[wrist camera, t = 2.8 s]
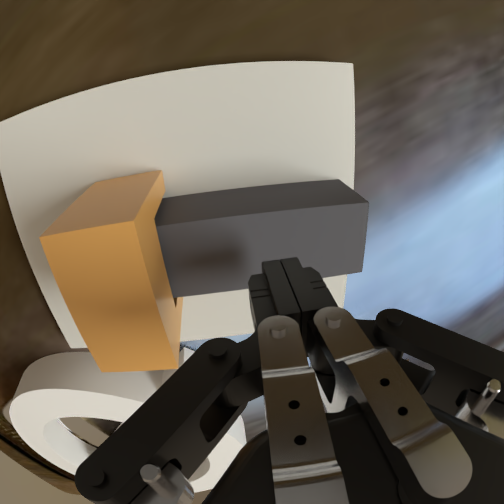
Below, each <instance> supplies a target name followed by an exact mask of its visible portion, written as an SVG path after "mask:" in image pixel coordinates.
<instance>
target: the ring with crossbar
mask: <svg viewBox="0 0 504 504" xmlns="http://www.w3.org/2000/svg"><path fill="white" fill-rule="evenodd" d="M194 352H195V351H193V350H190V349H188V348H186V347H184V348H183V349H182V350H181V351H180V353H179V367H180V366H181V365H182V364H183V363H184V362H185V361H186V360H187V359H188V358H189V357H190V356H191V355H192V354H193V353H194ZM179 367H178V368H179ZM176 370H177V369H167V370H152V371H131V372H101V370H100V369H99V367H98V365H97V363H96V362H95V360H94V358H93V356H92V355H91V353H90V352H65V353H58V354H53V355H49V356H45V357H43V358H40V359H38V360H36V361H35V362H33V363H32V364H30V365H29V366H28V367H27V369H26V370H25V371H24V373H23V375H22V378H21V380H20V382H19V385H18V387H17V390H16V392H15V395H14V397H13V400H12V403H11V405H10V410H9V414H10V419H11V422H12V424H13V426H14V428H15V429H16V431H17V433H18V434H19V435H20V436H21V438H22V439H23V440H24V441H25V442H26V443H27V444H28V445H29V446H30V447H31V448H32V449H33V450H35V451H36V452H37V453H38V454H40V455H41V456H42V457H44V458H45V459H47V460H48V461H50V462H51V463H53V464H55V465H56V466H58V467H60V468H62V469H64V470H66V471H68V472H70V473H72V474H74V475H75V473H76V470H77V468H78V467H79V465H80V464H81V463H82V462H83V461H84V460H85V459H86V458H87V457H88V456H90V455H91V454H92V453H93V452H94V451H95V450H96V449H97V448H98V446H96V447H97V448H95V447H93V446H91V445H89V444H87V443H85V442H84V441H82V440H80V439H79V438H77V437H76V436H74V435H73V434H72V433H70V432H69V431H68V430H70V429H69V428H67V427H66V426H65V425H64V424H63V423H62V421H61V420H60V419H59V418H63V417H91V418H100V419H107V420H113V421H119V422H122V423H121V424H120V426H121V425H122V424H123V423H124V422H125V421H126V420H127V419H128V418H129V417H130V416H131V415H132V414H133V413H134V412H135V411H136V410H137V409H138V408H139V407H140V406H141V405H142V404H143V403H144V402H145V401H146V400H147V399H148V398H149V397H150V396H151V395H152V394H154V393H155V392H156V391H157V390H158V389H159V388H160V387H161V386H162V385H163V384H164V383H165V382H166V381H167V380H168V379H169V378H170V377H171V376H172V375H173V374H174V373H175V371H176ZM120 426H119V427H120ZM119 427H118V428H119ZM118 428H117V429H118ZM67 429H68V430H67ZM117 429H116V430H117ZM116 430H115V431H116ZM70 431H71V430H70ZM115 431H114V432H115ZM245 444H246V437H245V430H244V423H243V420H242V417H241V415H240V416H239V417H238V418H237V420H236V421H235V422H234V424H233V425H232V426H231V428H230V429H229V430H228V431H227V433H226V434H225V435H224V437H223V438H222V439H221V440H220V442H219V443H218V444H217V445H216V447H215V448H214V449H213V450H212V452H211V453H210V454H209V455H208V457H207V458H206V459H205V460H204V462H203V463H202V464H201V465H200V466H199V468H198V469H197V470H196V471H195V472H194V473H193V475H192V476H191V477H190V478H189V479H188V481H189V482H190V484H191V485H192V487H193V490H194V492H200V491H204V490H209V489H213V488H214V486H215V485H216V484H217V482H218V481H219V479H220V478H221V477H222V475H223V474H224V472H225V471H226V470H227V468H228V467H229V465H230V464H231V463H232V461H233V460H234V458H235V457H236V455H237V454H238V452H239V451H240V450H241V449H242V448H243V446H244V445H245ZM92 445H93V444H92ZM94 446H95V445H94Z"/></svg>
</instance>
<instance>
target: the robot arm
mask: <svg viewBox="0 0 504 504" xmlns="http://www.w3.org/2000/svg"><path fill="white" fill-rule="evenodd" d="M261 265H262V274H255V275H251V277H250V279H249V281H248V290H249V300H250V310H251V316H252V320H253V325H254V330H255V332H254V333H253V334H252V335H251V336H250V337H249V338H247V339H246V340H244V341H241V342H239V343H236V342H234V341H233V340H231V339H228V338H214V339H211V340H208V341H206V342H205V343H203V344H202V345H201V346H200V347H199V348H198V349H197V350H196V351H195V352H194V353H193V354H192V355H191V356H190V357H189V358H188V359H187V360H186V361H185V362H184V363H183V364H182V365H181V366H180V367H179V368H178V369H177V370H176V371H175V373H174V374H173V375H172V376H171V377H170V378H169V379H168V380H167V381H166V382H165V383H164V384H163V385H162V386H161V387H160V388H159V389H158V390H157V391H156V392H155V393H154V394H152V395H151V396H150V397H149V398H148V399H147V400H146V401H145V402H144V403H143V404H142V405H141V406H140V407H139V408H138V409H137V410H136V411H135V412H134V413H133V414H132V415H131V416H130V417H129V418H128V419H127V420H126V421H125V422H124V423H123V424H122V425H121V426H120V427H119V428H118V429H117V430H116V431H115V432H114V433H113V434H112V435H111V436H109V437H108V438H107V439H106V440H105V441H104V442H103V443H102V444H101V445H100V446H99V447H98V448H97V449H96V450H95V451H94V452H93V453H92V454H91V455H90V456H88V457H87V458H86V459H85V460H84V461H83V462H82V463H81V464H80V465H79V467H78V468H77V470H76V473H75V484H76V487H77V489H78V491H79V492H80V493H81V495H82V496H84V497H85V498H87V499H88V500H90V501H91V502H93V503H95V504H191V503H192V501H193V498H194V490H193V487H192V485H191V484H190V482H189V481H188V479H189V478H190V477H191V476H192V475H193V473H194V472H195V471H196V470H197V469H198V468H199V466H200V465H201V464H202V463H203V462H204V460H205V459H206V458H207V457H208V455H209V454H210V453H211V452H212V450H213V449H214V448H215V447H216V445H217V444H218V443H219V442H220V440H221V439H222V438H223V437H224V435H225V434H226V433H227V431H228V430H229V429H230V428H231V426H232V425H233V424H234V422H235V421H236V420H237V418H238V417H239V416H240V414H241V413H242V412H243V410H244V409H245V408H246V406H247V403H248V402H249V401H251V400H253V399H255V398H258V397H260V396H262V395H264V405H265V414H266V424H267V430H265V431H263V432H261V433H259V434H258V435H256V436H255V437H253V438H252V439H251V440H250V441H248V442H247V443H246V444H245V445H244V446H243V448H242V449H241V450H240V451H239V452H238V454H237V455H236V457H235V458H234V460H233V461H232V463H231V464H230V465H229V467H228V468H227V470H226V471H225V472H224V474H223V475H222V477H221V478H220V479H219V481H218V482H217V484H216V485H215V486H214V488H213V489H212V490H211V492H210V493H209V494H208V496H207V497H206V499H205V500H204V501H203V502H202V504H504V352H502V351H499V350H497V349H494V348H492V347H489V346H487V345H485V344H482V343H480V342H477V341H475V340H472V339H470V338H467V337H465V336H463V335H460V334H458V333H455V332H453V331H450V330H448V329H445V328H443V327H441V326H438V325H436V324H433V323H431V322H428V321H426V320H423V319H421V318H418V317H416V316H414V315H411V314H409V313H406V312H404V311H401V310H398V309H385V310H383V311H381V312H379V313H378V314H377V316H376V320H359V319H354V318H353V316H352V315H351V314H350V313H349V312H348V311H347V310H345V309H343V308H340V307H338V305H337V303H336V301H335V300H334V298H333V296H332V294H331V293H330V291H329V289H328V287H327V285H326V284H325V282H324V281H323V278H322V277H321V275H320V273H319V272H318V271H316V270H315V269H313V268H312V267H305V268H303V267H302V265H301V263H300V261H299V259H298V258H297V257H293V258H285V259H280V260H279V259H278V260H271V261H263V262H262V264H261ZM403 353H406V354H408V355H411V356H413V357H415V358H417V359H420V360H422V361H424V362H426V363H429V364H431V365H432V366H433V367H434V369H435V370H434V371H430V370H427V369H425V368H422V367H420V366H418V365H416V364H413V363H411V362H409V361H407V360H405V359H402V356H403ZM307 357H309V359H310V362H311V363H310V367H309V365H308V361H307ZM321 398H322V399H321ZM322 400H323V402H324V404H325V406H326V409H327V412H328V413H325V411H324V407H323V403H322Z"/></svg>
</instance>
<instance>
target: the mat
mask: <svg viewBox="0 0 504 504" xmlns="http://www.w3.org/2000/svg"><path fill="white" fill-rule="evenodd" d="M354 161H355V102H354V73H353V64H352V63H338V62H317V61H268V62H247V63H233V64H221V65H212V66H203V67H195V68H188V69H181V70H174V71H168V72H163V73H157V74H152V75H147V76H142V77H137V78H132V79H128V80H124V81H119V82H115V83H111V84H107V85H104V86H100V87H96V88H93V89H89V90H86V91H82V92H79V93H76V94H73V95H70V96H66V97H63V98H60V99H57V100H55V101H52V102H49V103H46V104H43V105H41V106H38V107H35V108H33V109H30V110H28V111H25V112H23V113H20V114H18V115H16V116H13V117H11V118H9V119H6V120H4V121H2V122H0V172H1V176H2V180H3V184H4V188H5V192H6V195H7V199H8V202H9V206H10V209H11V212H12V215H13V218H14V222H15V225H16V228H17V230H18V233H19V236H20V239H21V242H22V245H23V247H24V250H25V252H26V255H27V258H28V260H29V263H30V265H31V268H32V270H33V272H34V275H35V277H36V279H37V282H38V284H39V286H40V288H41V291H42V293H43V295H44V297H45V299H46V301H47V304H48V306H49V308H50V310H51V312H52V314H53V316H54V318H55V320H56V322H57V324H58V325H59V327H60V329H61V331H62V333H63V335H64V337H65V338H66V340H67V342H68V344H69V346H70V347H71V348H88V347H87V345H86V344H85V342H84V340H83V338H82V336H81V334H80V332H79V330H78V328H77V326H76V324H75V322H74V320H73V318H72V316H71V314H70V312H69V310H68V308H67V305H66V303H65V301H64V299H63V297H62V294H61V292H60V290H59V287H58V285H57V283H56V280H55V278H54V276H53V273H52V271H51V268H50V266H49V263H48V260H47V258H46V255H45V253H44V250H43V247H42V244H41V241H40V239H39V237H40V236H41V235H42V234H43V233H44V231H45V230H46V229H47V228H48V227H49V226H50V225H51V224H52V223H53V222H54V221H55V220H56V219H57V218H58V217H59V216H60V215H61V214H62V213H63V212H64V211H65V210H66V209H67V208H68V207H69V206H70V205H71V204H72V203H73V202H74V201H75V200H76V199H78V198H79V197H80V196H81V195H82V194H83V193H84V192H85V191H86V190H87V189H88V188H89V187H91V186H92V185H93V184H94V183H95V182H99V181H104V180H109V179H114V178H119V177H124V176H130V175H135V174H141V173H146V172H152V171H158V170H162V173H163V179H164V185H165V193H164V196H163V198H167V197H174V196H181V195H188V194H195V193H203V192H210V191H218V190H227V189H235V188H244V187H253V186H263V185H273V184H284V183H295V182H307V181H320V180H334V179H339V180H341V181H342V182H343V183H345V184H346V185H347V186H349V187H350V188H351V189H353V190H354ZM346 280H347V274H346V275H339V276H333V277H326V278H323V281H324V282H325V284H326V285H327V287H328V289H329V291H330V293H331V294H332V296H333V298H334V300H335V301H336V303H337V305H338V307H340V308H343V305H344V298H345V289H346ZM254 332H255V330H254V325H253V320H252V316H251V310H250V300H249V290H248V289H243V290H235V291H227V292H219V293H211V294H203V295H194V296H186V297H183V306H182V319H181V333H180V342H181V341H192V340H201V339H210V338H219V337H227V336H235V335H242V334H250V333H254Z"/></svg>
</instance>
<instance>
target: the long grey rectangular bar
mask: <svg viewBox="0 0 504 504" xmlns="http://www.w3.org/2000/svg"><path fill="white" fill-rule="evenodd" d="M368 209H369V202H368V201H367V200H365V199H364V198H363V197H362V196H360V195H359V194H358V193H356V192H355V191H354V190H353V189H351V188H350V187H349V186H347V185H346V184H345V183H343V182H342V181H341V180H339V179H334V180H320V181H307V182H295V183H284V184H273V185H263V186H253V187H244V188H235V189H227V190H218V191H210V192H203V193H195V194H188V195H181V196H174V197H167V198H162V200H161V203H160V205H159V208H158V210H157V213H156V215H155V218H154V220H155V225H156V229H157V234H158V239H159V243H160V247H161V252H162V256H163V260H164V264H165V268H166V272H167V276H168V280H169V284H170V288H171V292H172V296H173V298H177V297H186V296H194V295H203V294H211V293H219V292H227V291H235V290H243V289H248V281H249V279H250V277H251V275H255V274H262V265H261V264H262V262H263V261H271V260H278V259H279V260H280V259H285V258H293V257H297V258H298V259H299V261H300V263H301V265H302V267H303V268H305V267H312V268H313V269H315V270H316V271H318V272H319V273H320V275H321V277H322V278H326V277H333V276H339V275H346V274H352V273H358V272H362V267H363V259H364V251H365V242H366V232H367V221H368Z"/></svg>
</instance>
